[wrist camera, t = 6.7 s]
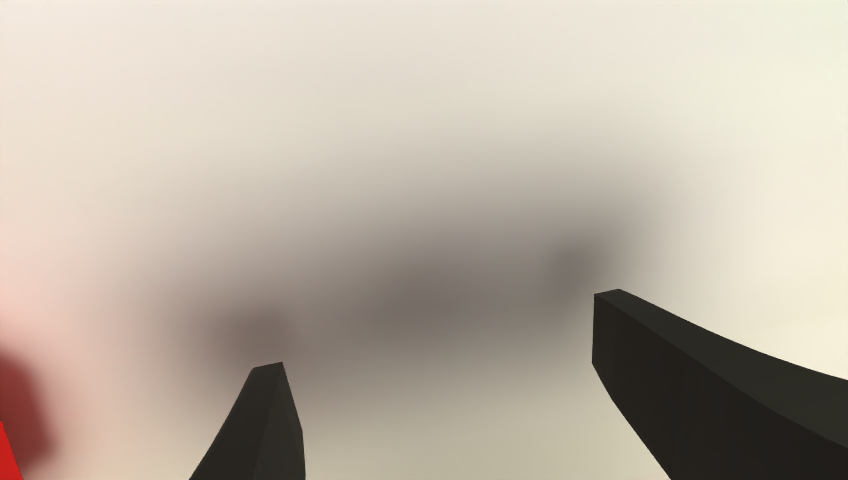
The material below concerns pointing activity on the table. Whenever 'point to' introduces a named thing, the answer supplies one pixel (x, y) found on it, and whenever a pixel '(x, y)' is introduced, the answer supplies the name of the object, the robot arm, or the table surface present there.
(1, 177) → the table surface
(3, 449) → the red black angular block
